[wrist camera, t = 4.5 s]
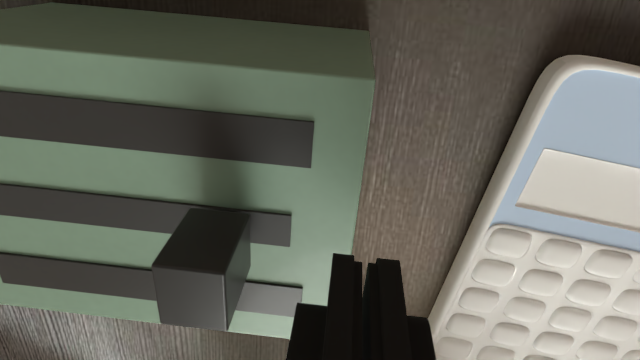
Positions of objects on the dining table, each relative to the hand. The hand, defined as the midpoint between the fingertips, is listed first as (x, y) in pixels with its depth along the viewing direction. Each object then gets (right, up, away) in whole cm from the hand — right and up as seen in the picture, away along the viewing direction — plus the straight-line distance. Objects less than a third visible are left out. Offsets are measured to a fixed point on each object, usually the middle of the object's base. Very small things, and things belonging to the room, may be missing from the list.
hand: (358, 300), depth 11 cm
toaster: (-6, +6, +10) cm, 13 cm away
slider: (-4, +2, +2) cm, 5 cm away
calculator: (+13, -1, +12) cm, 18 cm away
